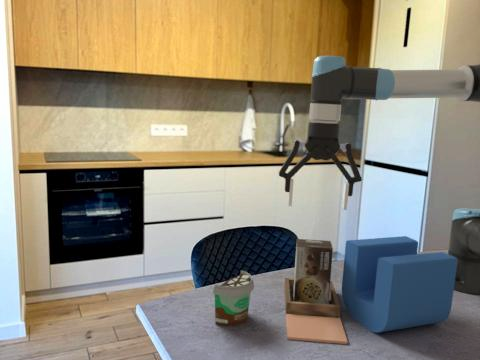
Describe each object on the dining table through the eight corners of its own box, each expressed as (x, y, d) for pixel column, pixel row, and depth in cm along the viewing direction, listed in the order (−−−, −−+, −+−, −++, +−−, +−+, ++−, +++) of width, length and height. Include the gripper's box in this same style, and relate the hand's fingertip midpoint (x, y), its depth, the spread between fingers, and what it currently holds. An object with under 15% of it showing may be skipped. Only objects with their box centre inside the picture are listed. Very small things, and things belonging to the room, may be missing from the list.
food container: (234, 334, 101) (236, 292, 100) (211, 326, 104) (213, 285, 103) (261, 314, 112) (264, 275, 110) (240, 307, 115) (242, 269, 113)
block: (339, 306, 118) (346, 239, 115) (396, 299, 124) (404, 235, 121) (384, 342, 101) (393, 264, 98) (447, 331, 108) (457, 258, 105)
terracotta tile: (340, 320, 110) (340, 318, 110) (347, 344, 100) (347, 341, 100) (285, 316, 111) (286, 313, 111) (287, 339, 100) (287, 336, 100)
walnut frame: (331, 291, 127) (332, 281, 127) (339, 318, 111) (340, 306, 111) (284, 287, 128) (284, 277, 127) (285, 314, 112) (286, 302, 112)
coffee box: (326, 298, 122) (331, 240, 120) (328, 309, 116) (334, 248, 113) (292, 295, 123) (296, 237, 120) (292, 306, 117) (296, 245, 114)
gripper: (372, 124, 115) (364, 206, 118) (272, 118, 116) (267, 200, 120) (379, 125, 107) (370, 213, 111) (272, 119, 109) (267, 206, 112)
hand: (317, 206), depth 115 cm, fingers open, 13 cm apart
